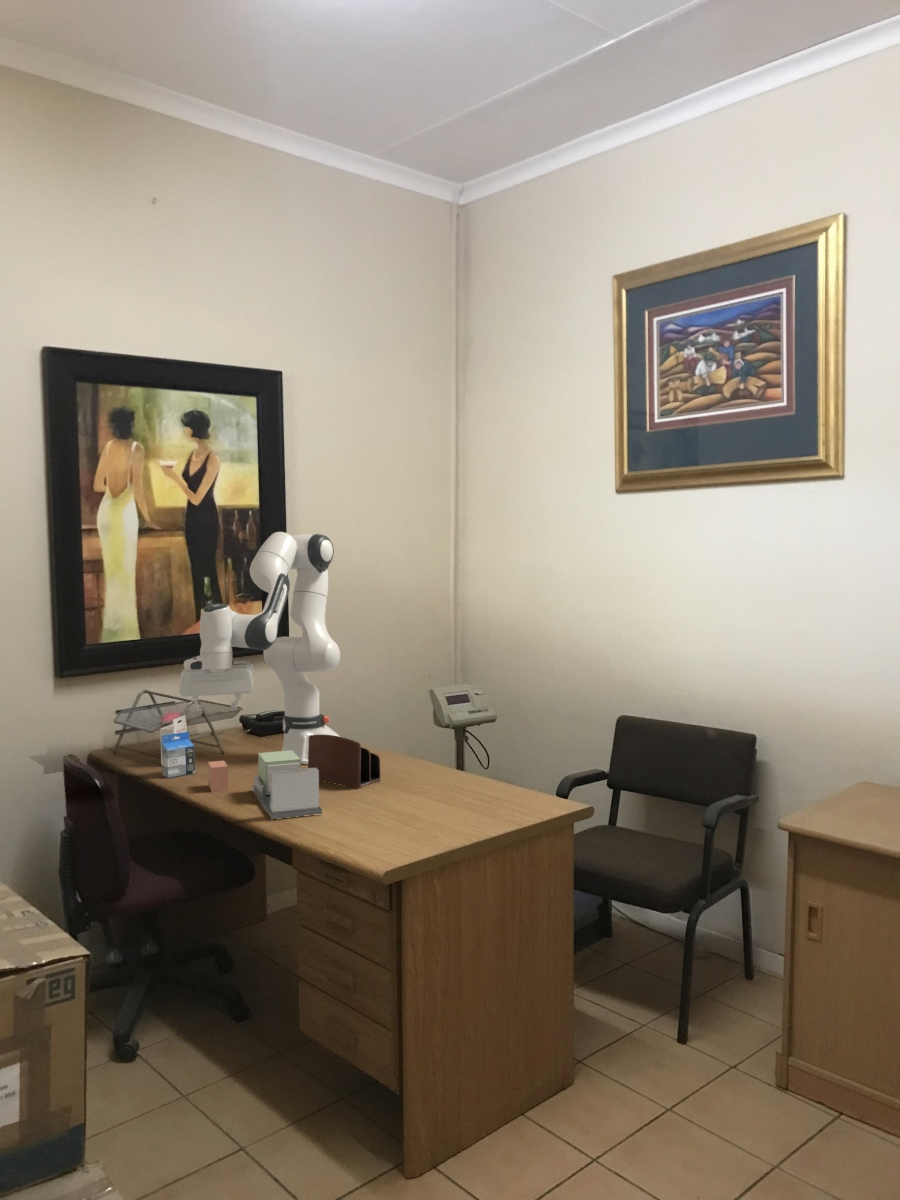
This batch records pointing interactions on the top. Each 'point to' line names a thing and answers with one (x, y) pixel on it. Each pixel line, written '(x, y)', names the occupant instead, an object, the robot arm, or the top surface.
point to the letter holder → (343, 761)
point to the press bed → (290, 793)
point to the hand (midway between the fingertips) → (216, 710)
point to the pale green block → (276, 764)
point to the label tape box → (177, 755)
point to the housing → (218, 776)
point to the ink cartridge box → (174, 729)
